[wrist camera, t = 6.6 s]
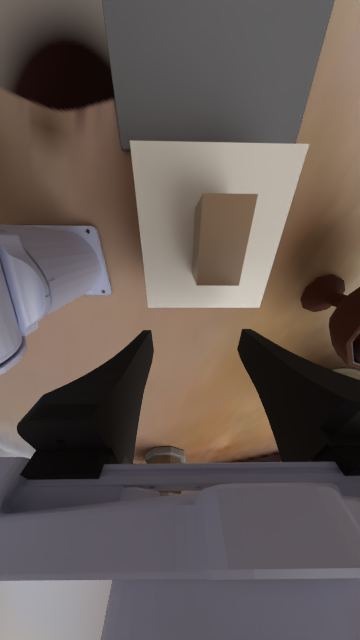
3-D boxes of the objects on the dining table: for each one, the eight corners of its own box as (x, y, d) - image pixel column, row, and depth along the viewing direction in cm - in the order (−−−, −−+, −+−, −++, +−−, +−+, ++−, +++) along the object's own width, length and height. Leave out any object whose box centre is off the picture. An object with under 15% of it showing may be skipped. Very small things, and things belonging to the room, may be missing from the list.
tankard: (142, 447, 45) (128, 533, 32) (182, 444, 44) (184, 531, 31) (155, 470, 54) (148, 543, 41) (188, 468, 54) (192, 541, 41)
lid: (149, 305, 16) (139, 327, 12) (132, 146, 10) (101, 80, 6) (256, 305, 16) (283, 327, 12) (302, 149, 10) (385, 87, 6)
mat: (123, 150, 13) (121, 148, 13) (80, -177, 8) (75, -197, 7) (290, 153, 14) (293, 151, 13) (374, -162, 8) (383, -181, 7)
